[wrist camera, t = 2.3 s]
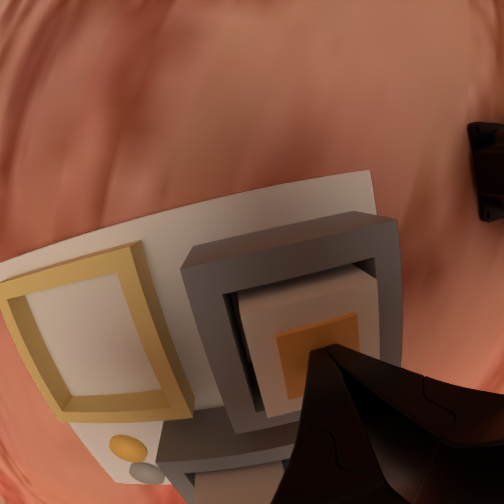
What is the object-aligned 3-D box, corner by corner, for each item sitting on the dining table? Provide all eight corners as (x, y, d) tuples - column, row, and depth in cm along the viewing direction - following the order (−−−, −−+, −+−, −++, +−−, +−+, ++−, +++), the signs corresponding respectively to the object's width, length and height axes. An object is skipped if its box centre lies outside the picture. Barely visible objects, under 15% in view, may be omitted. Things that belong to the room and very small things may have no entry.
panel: (351, 171, 14) (416, 165, 8) (368, 423, 17) (399, 475, 12) (14, 256, 13) (-48, 284, 7) (121, 464, 17) (106, 517, 11)
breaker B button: (277, 446, 12) (293, 512, 8) (288, 483, 12) (301, 538, 9) (196, 458, 11) (192, 524, 8) (219, 494, 12) (221, 549, 8)
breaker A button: (331, 251, 12) (380, 281, 8) (341, 334, 13) (381, 387, 9) (235, 273, 12) (240, 318, 8) (255, 357, 13) (268, 421, 8)
